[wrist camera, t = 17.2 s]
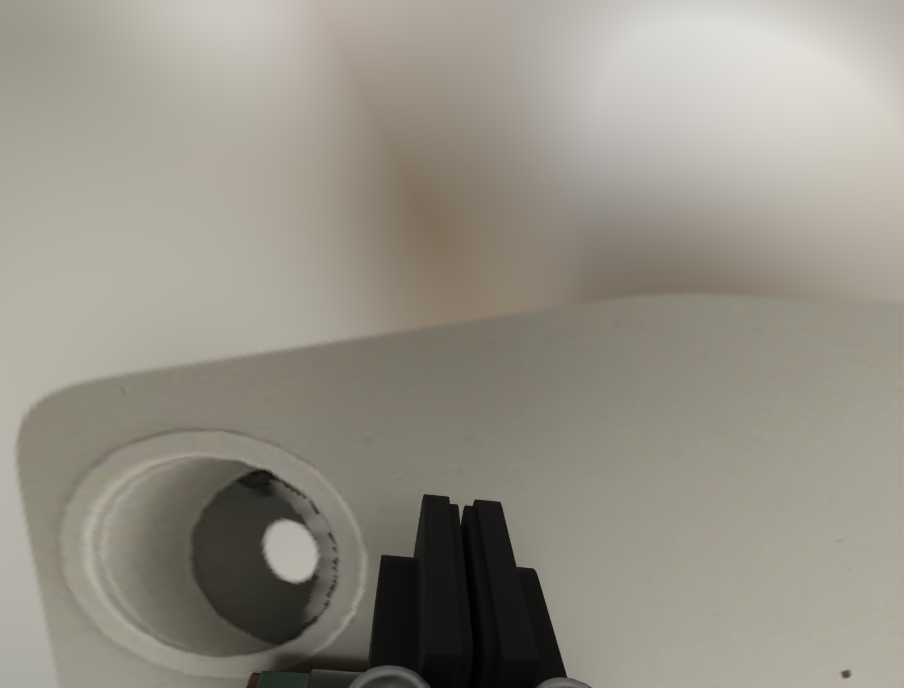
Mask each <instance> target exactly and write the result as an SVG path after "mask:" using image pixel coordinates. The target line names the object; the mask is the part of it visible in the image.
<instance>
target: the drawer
mask: <svg viewBox="0 0 904 688" xmlns="http://www.w3.org/2000/svg"><path fill="white" fill-rule="evenodd" d="M361 674H362V673H359V672H345V671H331V670H316V669H313V670H311V671H310V673H309V674H307V673H293V672H278V671H262V673H261V675H260V678H259V681H258V684H257V687H256V688H348V687H349V685H350V684H351V683H352V682H353V681H354V680H355V679H356V678H357V677H358V676H359V675H361Z"/></svg>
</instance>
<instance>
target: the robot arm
mask: <svg viewBox="0 0 904 688" xmlns="http://www.w3.org/2000/svg"><path fill="white" fill-rule="evenodd" d="M348 688H592V687H590V686H588V685H587V684H585V683H583V682H580V681H577V680H574V679H572V678H567V675H566V672H565V668H564V665H563V661H562V658H561V654H560V651H559V648H558V644H557V641H556V637H555V634H554V630H553V627H552V623H551V620H550V616H549V613H548V610H547V606H546V603H545V599H544V596H543V592H542V589H541V585H540V582H539V579H538V576H537V573H536V571H535V570H534V569H533V568H522V567H516V563H515V559H514V554H513V550H512V546H511V542H510V538H509V534H508V530H507V526H506V521H505V517H504V513H503V509H502V505H501V503H500V502H496V501H486V500H476V499H475V500H474V503H473V506H467V505H465V507H464V510H463V515H462V520H461V526H460V517H459V508H458V505H457V504H450V501H449V497H447V496H437V495H427V494H424V495H423V500H422V506H421V512H420V518H419V525H418V531H417V538H416V544H415V551H414V557H413V558H411V557H400V556H389V555H382V556H381V562H380V570H379V577H378V585H377V592H376V600H375V608H374V616H373V625H372V633H371V642H370V651H369V660H368V668H367V671H366V672H364V673H362V674H361V675H359V676H358V677H357V678H356V679H355V680H354V681H353V682H352V683H351V684H350V685H349V687H348Z"/></svg>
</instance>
